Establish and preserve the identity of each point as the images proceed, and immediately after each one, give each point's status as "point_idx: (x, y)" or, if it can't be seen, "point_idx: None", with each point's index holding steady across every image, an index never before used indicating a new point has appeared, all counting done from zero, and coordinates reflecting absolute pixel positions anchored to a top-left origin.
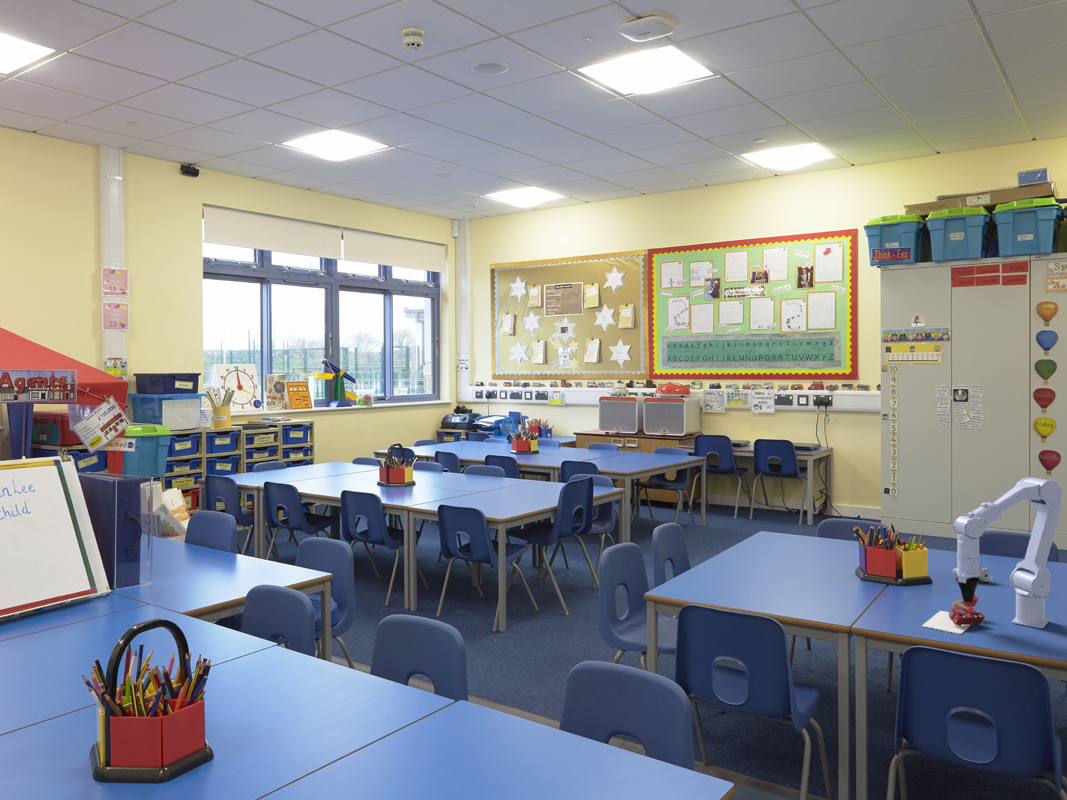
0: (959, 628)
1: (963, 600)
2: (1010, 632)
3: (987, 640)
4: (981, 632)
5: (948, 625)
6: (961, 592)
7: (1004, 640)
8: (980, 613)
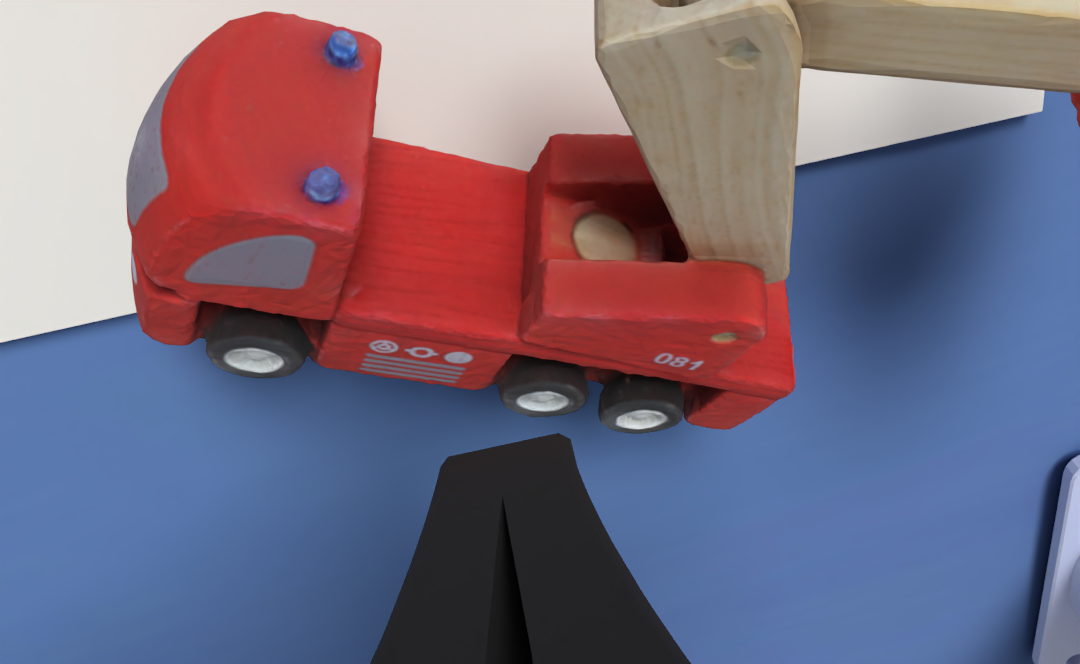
0: None
1: (441, 471)
2: (671, 570)
3: (140, 579)
4: (373, 425)
5: (158, 23)
6: (372, 659)
7: (326, 647)
8: (749, 396)
